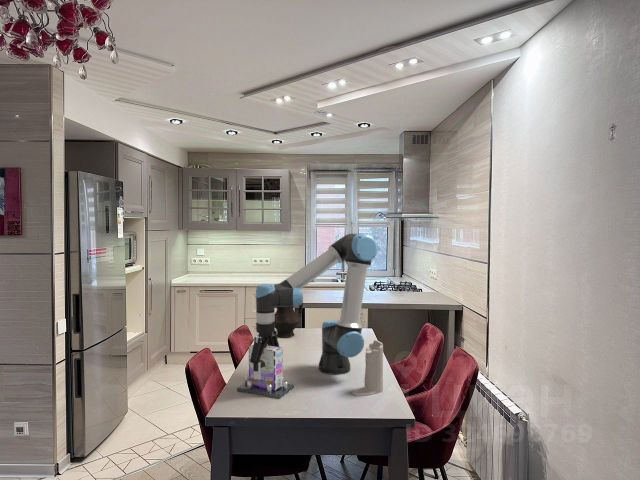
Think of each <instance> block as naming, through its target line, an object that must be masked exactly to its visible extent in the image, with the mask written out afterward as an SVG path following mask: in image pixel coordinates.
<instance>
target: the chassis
mask: <svg viewBox="0 0 640 480" xmlns="http://www.w3.org/2000/svg"><path fill="white" fill-rule="evenodd" d="M293 388H295V384H292V383H288V381H287V380H283V387H281V388H279V389H277V390H275V391H274V390H272V384H267V389H265V388H260V387H256V386H252V381H249V374H246V375H244V383H242V384H240V385H239V386H238V387H236V392H240V393H244V394H251V395H255V396H256V395H257V396H261V395H262V397H267V396H268V398H273V397H274V399H279V398H281V399H282V398H283V397H284V396H286V395H287V394H288V393H290V392H291V391H292V390H293ZM290 390H291V391H290ZM289 391H290V392H289ZM285 394H286V395H285Z"/></svg>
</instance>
